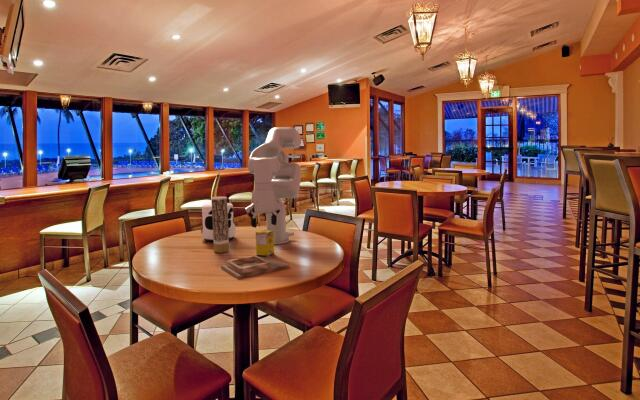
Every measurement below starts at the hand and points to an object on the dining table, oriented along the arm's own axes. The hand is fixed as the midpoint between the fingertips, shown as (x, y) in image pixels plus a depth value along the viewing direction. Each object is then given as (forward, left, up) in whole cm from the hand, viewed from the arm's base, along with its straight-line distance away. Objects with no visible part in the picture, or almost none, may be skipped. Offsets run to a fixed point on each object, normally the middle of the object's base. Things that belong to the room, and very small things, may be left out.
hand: (264, 225), depth 173 cm
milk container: (+5, -42, -14) cm, 44 cm away
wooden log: (+13, -19, -14) cm, 26 cm away
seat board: (+12, +13, -13) cm, 22 cm away
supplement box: (0, -1, -14) cm, 14 cm away
